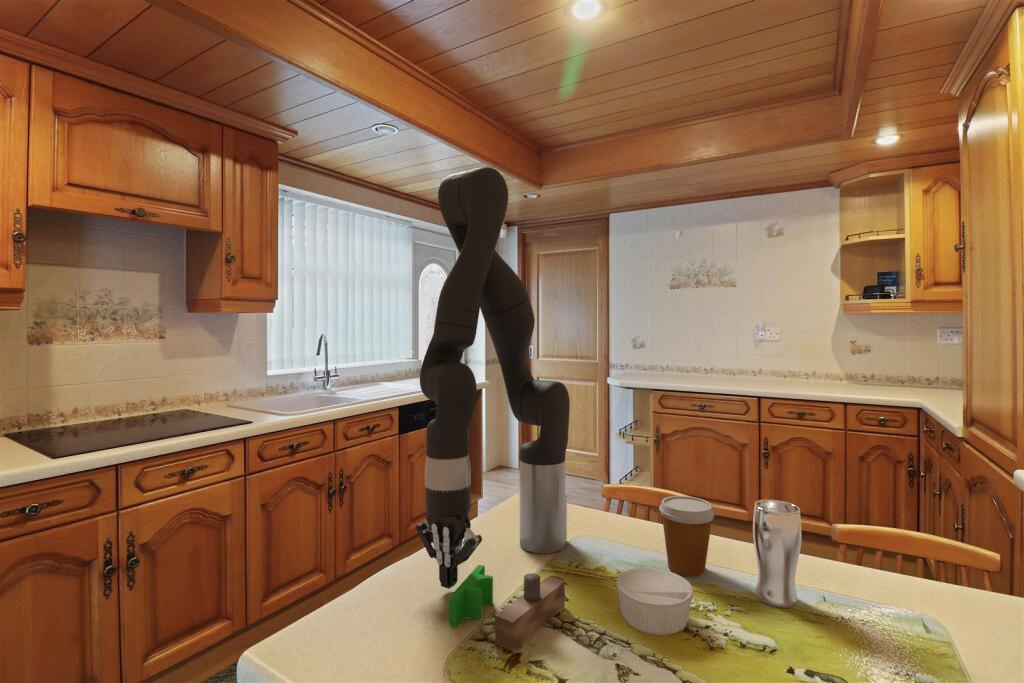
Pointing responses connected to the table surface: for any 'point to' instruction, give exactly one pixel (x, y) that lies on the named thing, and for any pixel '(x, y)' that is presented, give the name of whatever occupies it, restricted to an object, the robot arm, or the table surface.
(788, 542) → the beer glass
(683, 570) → the disposable coffee cup
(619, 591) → the ramekin
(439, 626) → the table surface
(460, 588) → the pipe clamp
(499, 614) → the bar
